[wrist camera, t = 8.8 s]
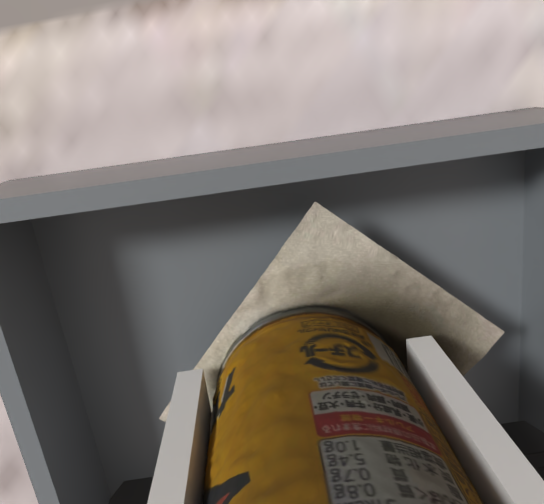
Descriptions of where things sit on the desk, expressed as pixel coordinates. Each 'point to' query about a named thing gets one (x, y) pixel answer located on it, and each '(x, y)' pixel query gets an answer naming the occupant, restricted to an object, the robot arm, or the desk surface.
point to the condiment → (334, 379)
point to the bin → (246, 273)
